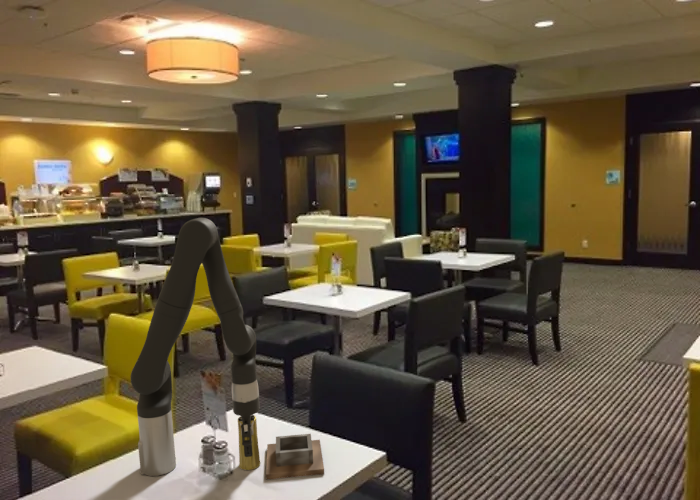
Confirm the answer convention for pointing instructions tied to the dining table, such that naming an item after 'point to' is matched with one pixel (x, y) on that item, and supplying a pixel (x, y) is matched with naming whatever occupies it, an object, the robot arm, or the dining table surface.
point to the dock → (294, 457)
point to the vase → (254, 460)
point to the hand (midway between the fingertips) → (249, 449)
